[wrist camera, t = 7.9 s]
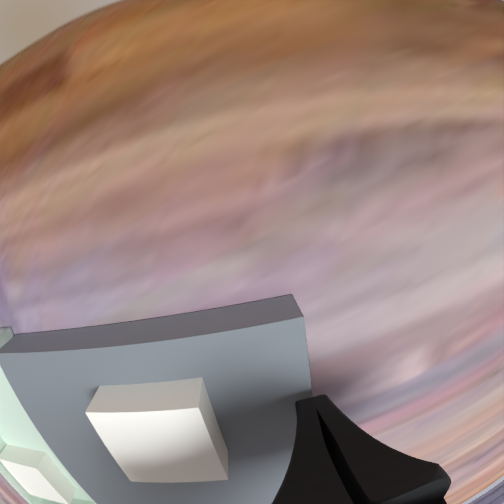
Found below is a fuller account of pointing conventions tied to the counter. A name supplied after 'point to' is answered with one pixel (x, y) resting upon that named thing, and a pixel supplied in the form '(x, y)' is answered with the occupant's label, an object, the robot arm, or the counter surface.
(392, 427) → the counter surface
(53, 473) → the tile
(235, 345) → the board
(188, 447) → the tile
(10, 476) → the tray
